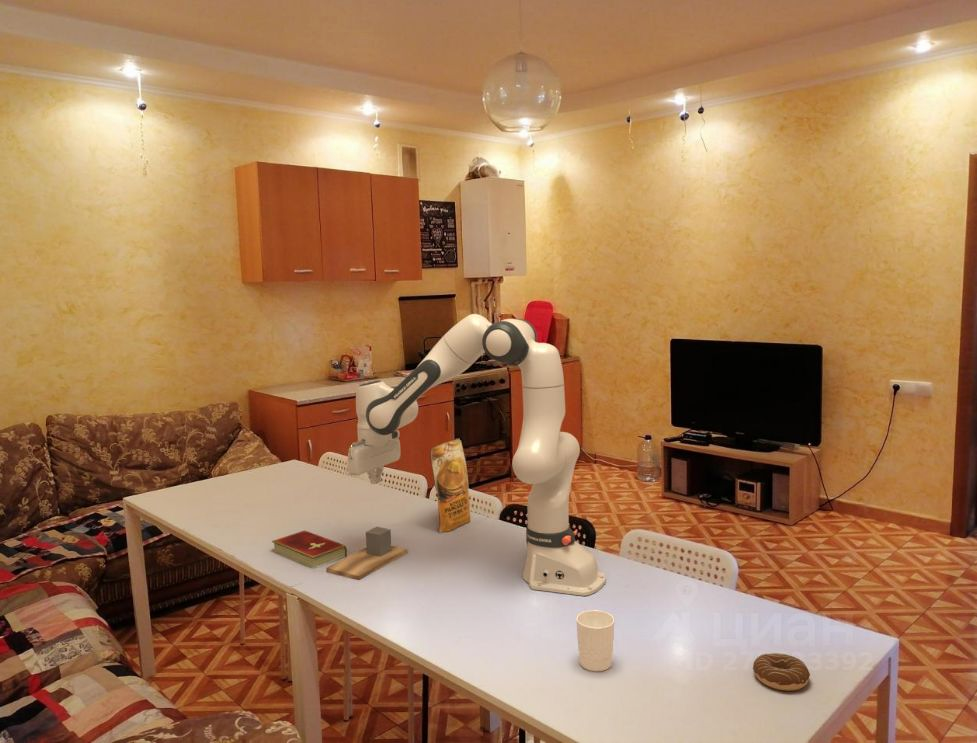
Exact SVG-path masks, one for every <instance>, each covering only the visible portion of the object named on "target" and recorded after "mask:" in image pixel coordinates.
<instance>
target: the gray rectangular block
mask: <svg viewBox="0 0 977 743" xmlns="http://www.w3.org/2000/svg"><path fill="white" fill-rule="evenodd" d="M391 530H392V529H390V528H384V527H379V526H375V527H373V528H371V529H369V530H367V531H365V548H366V551H367V554H371V555H375V556H379V557H381V556H383V555H385V554H386V553H388V552H390V551H392V550H391V545H392V534H391Z"/></svg>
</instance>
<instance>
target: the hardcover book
mask: <svg viewBox="0 0 977 743" xmlns="http://www.w3.org/2000/svg"><path fill="white" fill-rule="evenodd" d="M271 543H273V546H274V552H275V553H276V554H279V555H281V556H283V557H286V558H289V559H290V560H293V561H296V562H298V563H300V564H303V565H305V566H307V567H309V568H311V569H315V568H316V569H317V568H319V567H321V566H324V565H326V564H329V563H332V562H334V561H337V560H339V559H340V560H341V558H342V559H343V558H344V557H345V558H346V557H348V550H347V548H348V547H347V546H346V545H345V544H343V543H339V542H337V541H336V540H335V541H334V540H332V539H329V538H326V537H324V536H321V535H318V534H315V533H313V532H311V531H307V530H301V531H298V532H295V533H291V534H288V535H286V536H283V537H279V538H277V539H273V540H271Z"/></svg>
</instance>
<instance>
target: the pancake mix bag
mask: <svg viewBox="0 0 977 743" xmlns="http://www.w3.org/2000/svg"><path fill="white" fill-rule="evenodd" d="M460 439H461V438H460V437H459V438H455V439H453V440H450V441H446V442H443V443H441V444H439V445H436V446H434V447H432V448H431V450H430V457H429V458H430V464H431V468H432V478H433V484H434V487H435V490H436V495H437V508H438V510H437V511H438V530H437V531H438V533H439V534H440V533H447V532H448V533H449V532H451V531H454V530H455V529H458V528H460V527H462V526H464V525H467V524H469V523H470V522H471V512H470V510H471V509H470V507H471V506H470V505H471V504H470V494H469V491H470V490H469V475H468V467H467V460H466V456H465V452H464V446H463V442H462V440H460Z"/></svg>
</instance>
